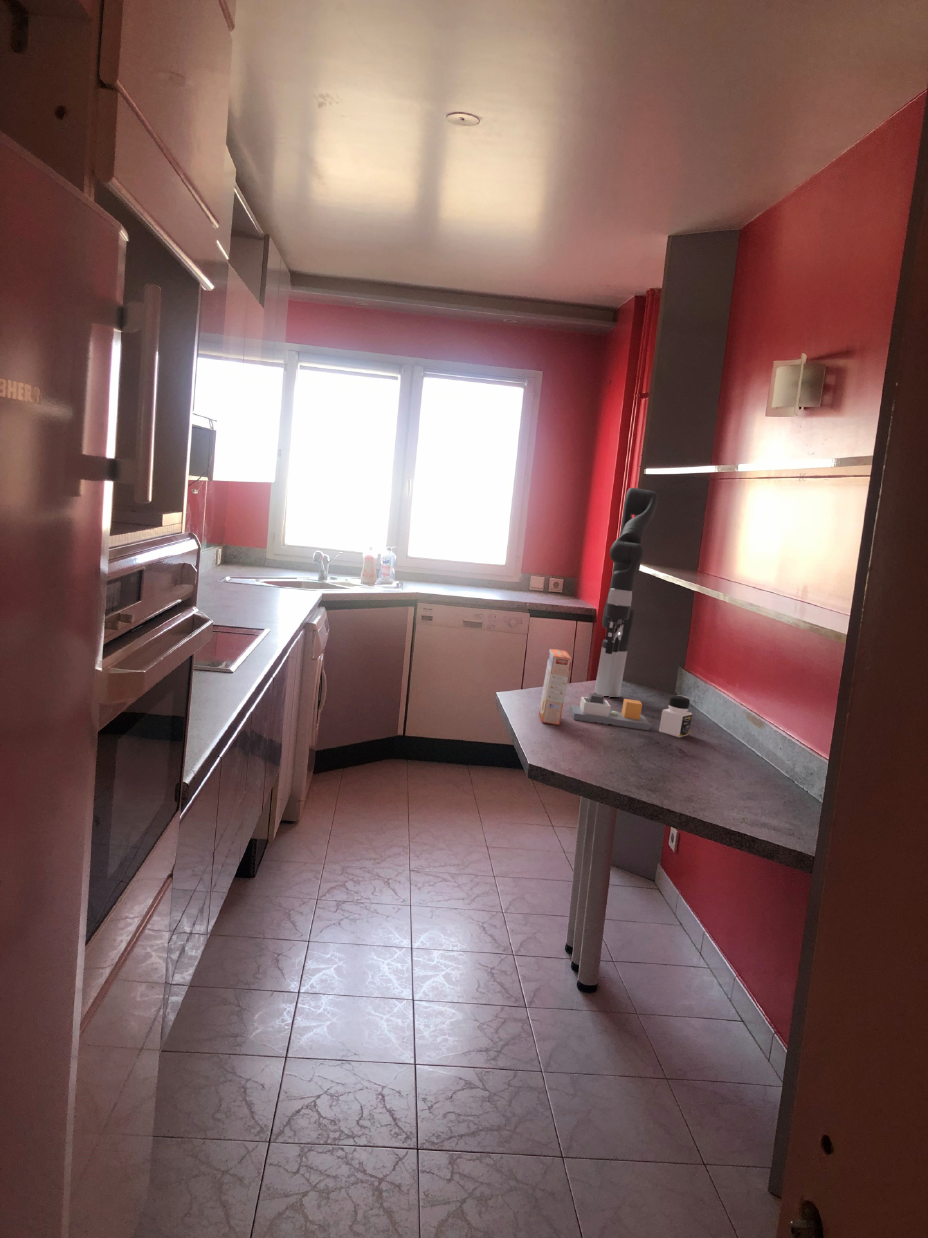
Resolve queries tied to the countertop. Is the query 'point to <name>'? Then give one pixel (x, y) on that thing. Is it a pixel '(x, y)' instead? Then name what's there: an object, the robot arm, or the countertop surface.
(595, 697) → the button
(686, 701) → the medicine bottle
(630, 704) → the orange cube
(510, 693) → the countertop surface
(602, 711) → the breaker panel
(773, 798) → the countertop surface
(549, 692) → the cracker box
